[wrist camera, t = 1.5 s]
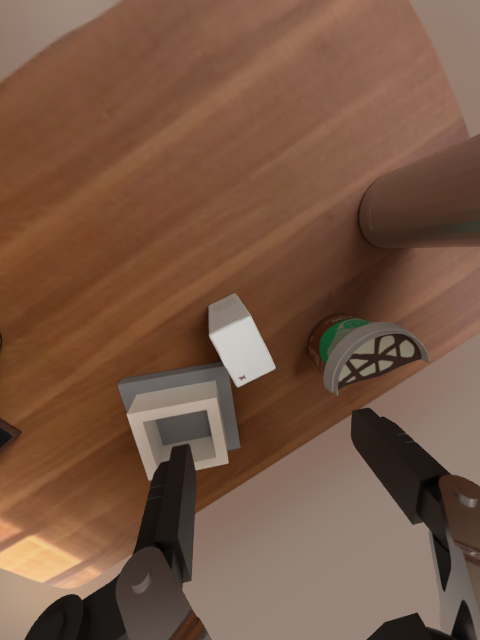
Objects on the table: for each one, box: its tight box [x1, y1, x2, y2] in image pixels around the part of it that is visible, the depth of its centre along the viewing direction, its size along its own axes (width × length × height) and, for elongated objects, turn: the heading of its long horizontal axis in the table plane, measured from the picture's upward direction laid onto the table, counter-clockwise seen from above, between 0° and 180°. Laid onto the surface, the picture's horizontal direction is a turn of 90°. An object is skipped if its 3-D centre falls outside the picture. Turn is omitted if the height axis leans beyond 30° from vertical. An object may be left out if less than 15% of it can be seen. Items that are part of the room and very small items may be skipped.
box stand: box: [118, 361, 240, 480], centre depth 32 cm, size 15×15×6 cm
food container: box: [307, 314, 430, 396], centre depth 29 cm, size 12×6×10 cm, turn 108°
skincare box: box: [208, 293, 276, 387], centre depth 26 cm, size 6×4×12 cm
